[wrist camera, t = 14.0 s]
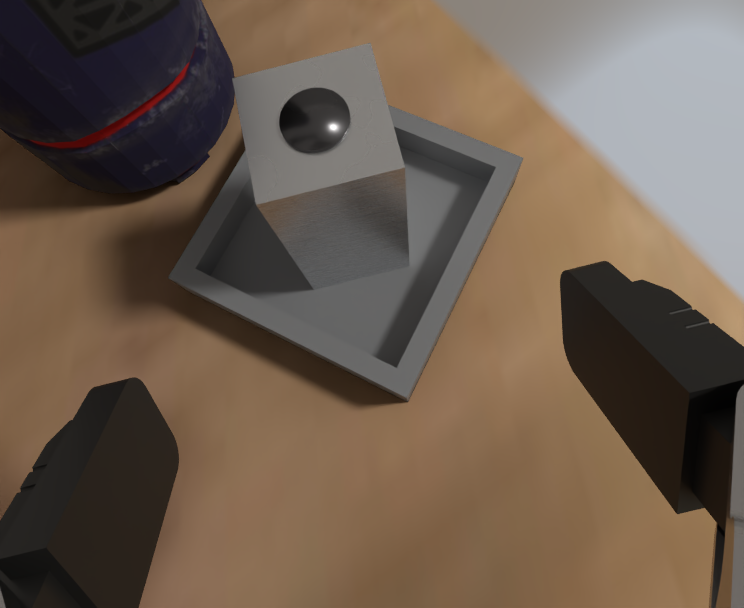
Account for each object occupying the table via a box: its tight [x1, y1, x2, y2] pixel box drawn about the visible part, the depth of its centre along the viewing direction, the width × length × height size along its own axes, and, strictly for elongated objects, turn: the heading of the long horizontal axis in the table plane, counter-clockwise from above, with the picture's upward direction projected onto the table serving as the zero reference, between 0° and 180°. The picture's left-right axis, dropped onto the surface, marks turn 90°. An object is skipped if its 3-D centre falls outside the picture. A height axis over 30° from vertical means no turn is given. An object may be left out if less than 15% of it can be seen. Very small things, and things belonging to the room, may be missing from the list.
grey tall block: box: [232, 43, 410, 290], centre depth 23 cm, size 5×5×10 cm
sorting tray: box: [168, 105, 523, 402], centre depth 27 cm, size 13×13×2 cm
